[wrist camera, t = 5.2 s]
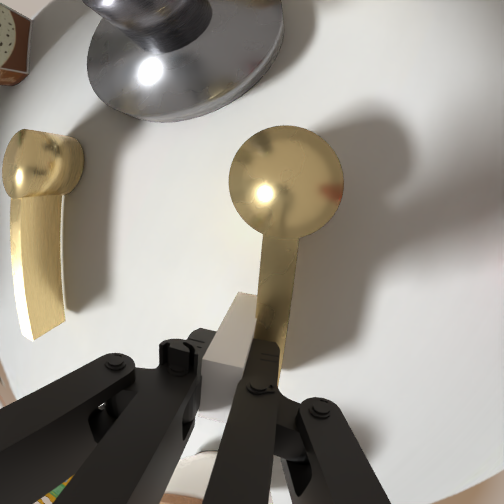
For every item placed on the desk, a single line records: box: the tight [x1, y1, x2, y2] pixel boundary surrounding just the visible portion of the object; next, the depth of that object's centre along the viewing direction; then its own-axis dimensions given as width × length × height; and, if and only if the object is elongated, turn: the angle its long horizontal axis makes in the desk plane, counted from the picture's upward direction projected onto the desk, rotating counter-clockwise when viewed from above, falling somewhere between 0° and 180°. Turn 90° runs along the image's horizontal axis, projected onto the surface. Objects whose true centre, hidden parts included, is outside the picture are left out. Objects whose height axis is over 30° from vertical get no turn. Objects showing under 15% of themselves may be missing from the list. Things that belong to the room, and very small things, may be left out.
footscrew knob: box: [2, 129, 84, 341], centre depth 15 cm, size 14×4×5 cm, turn 172°
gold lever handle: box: [229, 126, 344, 386], centre depth 14 cm, size 14×4×5 cm, turn 176°
